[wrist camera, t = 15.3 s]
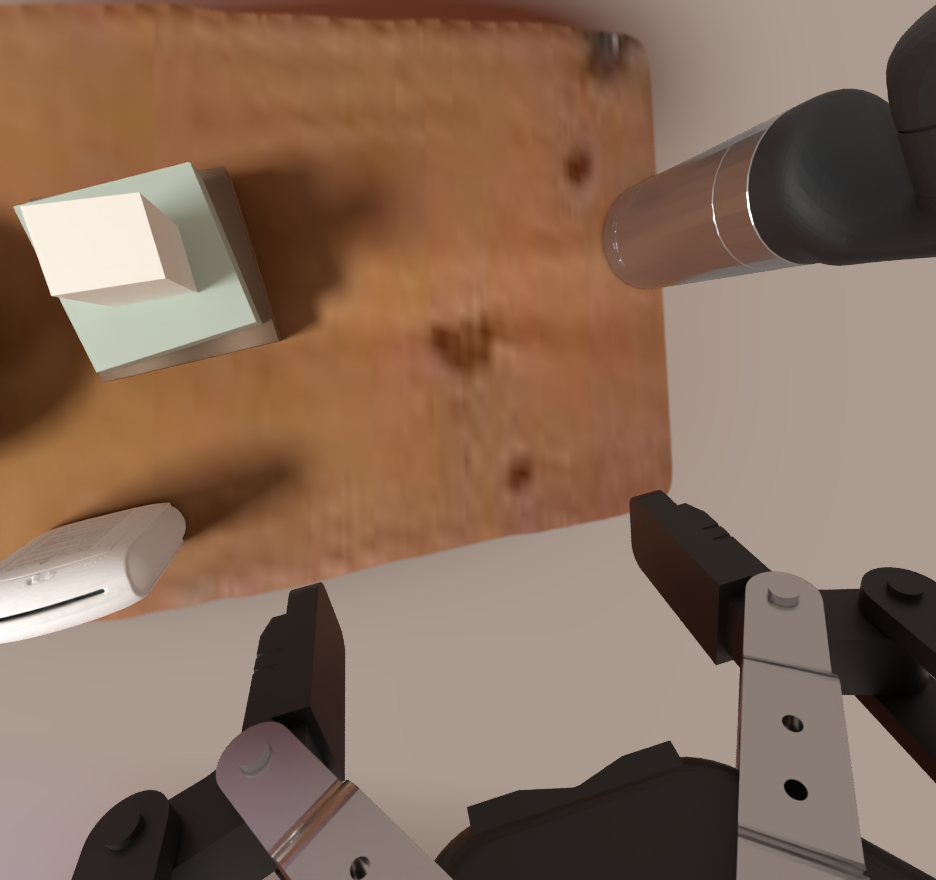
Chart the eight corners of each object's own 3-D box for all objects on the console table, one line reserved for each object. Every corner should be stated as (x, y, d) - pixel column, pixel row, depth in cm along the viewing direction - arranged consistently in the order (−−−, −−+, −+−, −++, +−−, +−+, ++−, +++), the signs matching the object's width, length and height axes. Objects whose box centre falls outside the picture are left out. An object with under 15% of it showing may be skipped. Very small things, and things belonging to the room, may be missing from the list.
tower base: (233, 183, 40) (224, 166, 37) (282, 340, 43) (278, 340, 40) (58, 213, 38) (29, 199, 34) (122, 378, 41) (102, 382, 37)
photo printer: (53, 581, 42) (-52, 675, 30) (32, 529, 41) (-85, 607, 29) (194, 543, 44) (148, 617, 32) (177, 493, 43) (123, 552, 31)
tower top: (203, 180, 37) (189, 161, 33) (262, 323, 39) (256, 321, 35) (46, 221, 35) (12, 206, 31) (119, 369, 37) (96, 372, 33)
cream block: (178, 226, 33) (139, 192, 26) (197, 292, 34) (165, 278, 27) (88, 238, 32) (19, 206, 24) (110, 307, 33) (51, 295, 25)
